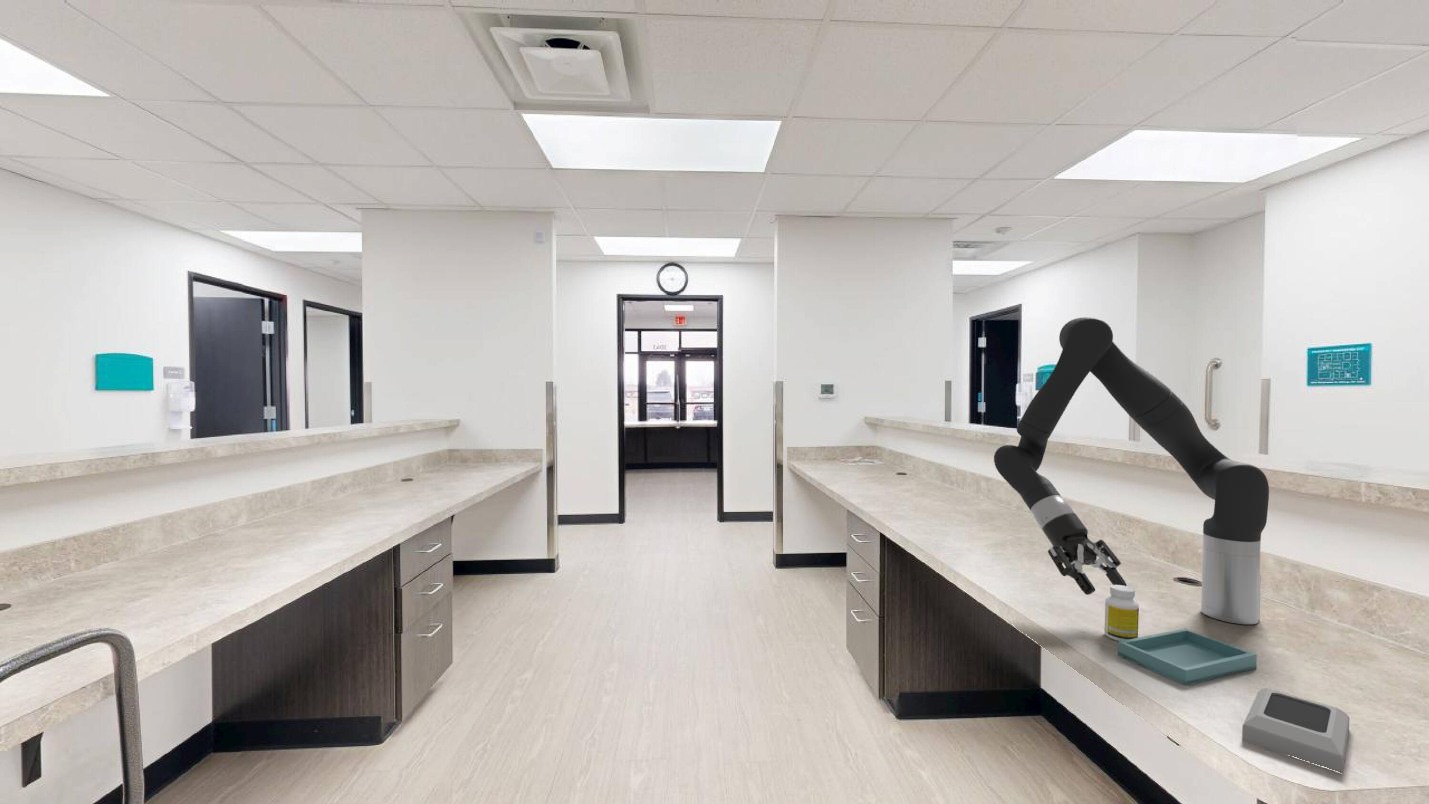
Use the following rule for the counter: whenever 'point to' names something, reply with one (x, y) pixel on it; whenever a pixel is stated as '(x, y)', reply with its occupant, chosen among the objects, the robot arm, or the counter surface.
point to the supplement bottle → (1121, 613)
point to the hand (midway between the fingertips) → (1107, 590)
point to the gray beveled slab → (1298, 728)
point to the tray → (1187, 656)
